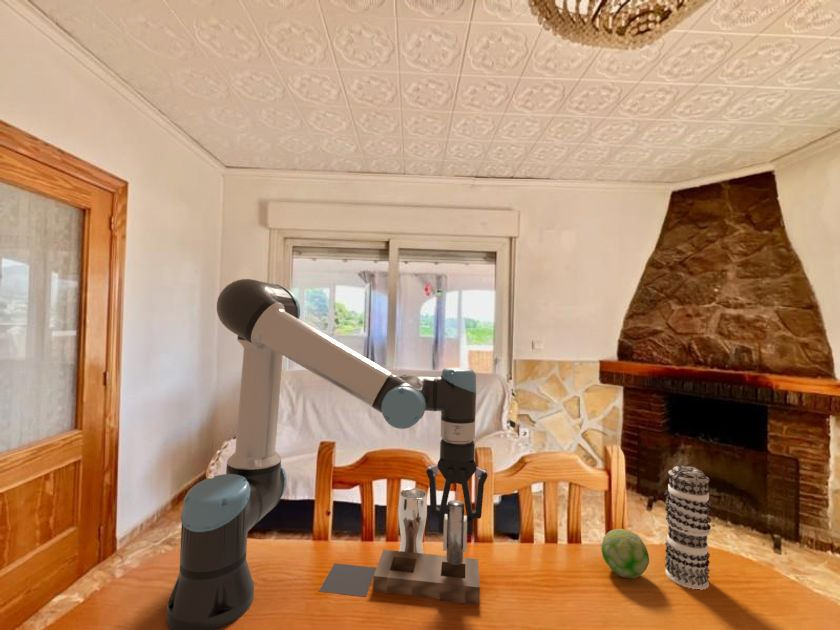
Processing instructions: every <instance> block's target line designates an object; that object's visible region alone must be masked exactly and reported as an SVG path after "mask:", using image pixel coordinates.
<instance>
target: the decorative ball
mask: <svg viewBox="0 0 840 630" xmlns="http://www.w3.org/2000/svg"><path fill="white" fill-rule="evenodd" d="M601 541H602V542H601V547H600V549H601V553H602V558H603V560H604V562H605V563H606V565H607V566H608V568H609V569H610V570H611V571H612V572H614V573H615V574H616V575H618V576H620V577H621V578H624V579H625V578H627V579H628V578H629V579H636V578H638V577H641V576H643V573H645V571H646V570H647V568H648V566H649V564H650V556H649V552H648V551H649V550H648V548H647V547H646V545H645V543H644V541H643V540H642V538H641V537H640V536H639V535H638V534H636V533H635V532H632V531H631V530H628V529H624V528H614V529H612V530H609V531H608V532H607V533H606V534H605V536H603V538H602V540H601Z"/></svg>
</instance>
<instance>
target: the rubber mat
mask: <svg viewBox="0 0 840 630" xmlns="http://www.w3.org/2000/svg"><path fill="white" fill-rule="evenodd" d="M376 568H377V567H375V566H373V567H372V566H364V565H355V564H347V563H346V564H345V563H336V562H334V563H333V564H332V567H331V568H330V570H329V572H328V574H327V576H326V577H325V579H324V581H323V583H322V585H321V587H320V589H319V590H318V592H319V593H320V592H321V593H326V594H327V593H329V594H337V595H344V596H345V595H346V596H353V597H354V596H355V597H360V598H361V597H362V598H367V595H368V593H369V590H370V587H371V586H372V585H371V584H372V582H373V579H374V573H375V571H376Z"/></svg>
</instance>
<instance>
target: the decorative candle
mask: <svg viewBox="0 0 840 630" xmlns="http://www.w3.org/2000/svg"><path fill="white" fill-rule="evenodd" d="M667 473H668V475H669V478H668V479H669V480H668V481H669V482H668V484H667V489H666V490H665V492H664V496H665V497H666V499H665V505H666V506H665V509H664V510H665V513H666V515H665V516H666V517H665V521H666V522H665V523H666V524H667V526H668V528H667V529H668V530H667V532H668V533H667V534H666V536H667V537H666V541H665V546H666V549H664V551H665V553H666V555H664V560H665V563H664V566H665V569H664V572H665V575H666V577H667V578H669V580H670V581H672V582H674V583H675V584H677V585H679V586H681V585H682V587H683V588H686V587H688V588H687V589H690V588H692V589H691V590H694V589H700V590H699V591H704V590H707V589H708V588H709V586H710V583H709V579H710V576H709V574H710V571H711V569H710V568H709V565H710V564H711V562H710V560H709V559H710V557H711V554H710V553H709V545H708V536H709V535H710V533H711V531H710V530H711V528H712V526H711V525H710V523H711V520H712V519H711V518H710V517H709V516H708V515H711V514H712V513H713V510H712V509H710V508H711V507H713V504H712V503H713V502H711V501H710V500H709V499H710V492H709V482H710V481H711V480H710V478H709V477H708V476H706V474H705V473H704V472H703V470H700V469H699V468H696V467H693V466H690V465H689V466H688V465H675V466H674V467H673V468H672V469H669V470H668V471H667ZM706 588H707V589H706ZM703 589H704V590H703Z"/></svg>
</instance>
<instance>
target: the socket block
mask: <svg viewBox="0 0 840 630" xmlns="http://www.w3.org/2000/svg"><path fill="white" fill-rule="evenodd" d="M375 568H376V571H375V573H374V577H373V579H372V582H373V583H372V586H373V587H372V591H373V592H376V593H377V592H378V593H386V594H392V595H394V594H395V595H404V596H412V597H420V598H429V599H439V601H442V602H450V603H451V602H452V603H459V604H468V605H477V606H479V605H480V593H481V592H480V590H481V586H480V569H479V568H480V566H479V558H473V557H472V558H469V557H463V562H462V563H461V564H458V565H454V564H450V563H448V562H447V560H446V555H441V554H432V553H431V554H430V553H424V552H423V553H413V552H403V551H399V550H393V549H392V550H389V549H383V550H382V552H381V554H380V557H379V560H378V563H377V566H376V567H375Z"/></svg>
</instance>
